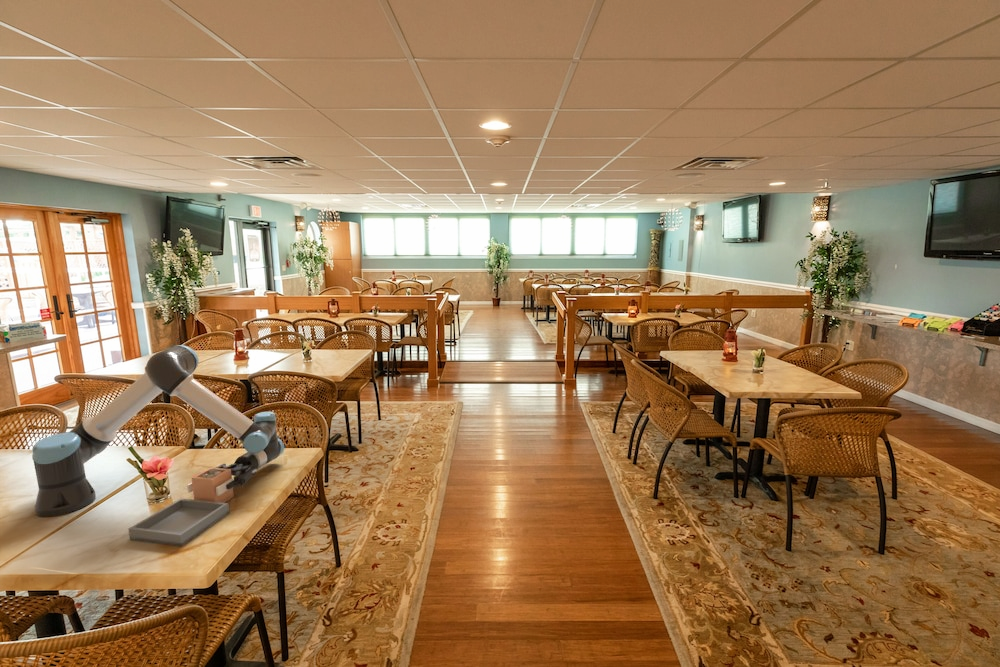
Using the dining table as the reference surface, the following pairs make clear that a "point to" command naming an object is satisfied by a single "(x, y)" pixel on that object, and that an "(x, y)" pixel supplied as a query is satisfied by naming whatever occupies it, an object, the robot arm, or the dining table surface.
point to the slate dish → (179, 522)
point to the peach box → (211, 485)
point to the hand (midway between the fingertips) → (202, 490)
